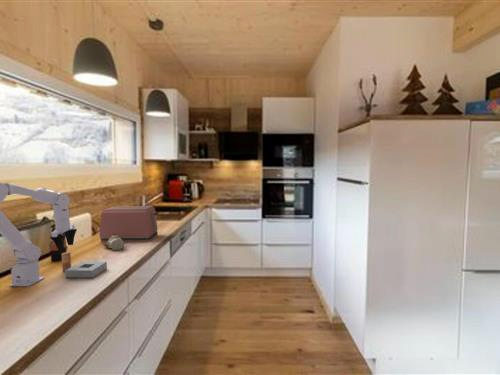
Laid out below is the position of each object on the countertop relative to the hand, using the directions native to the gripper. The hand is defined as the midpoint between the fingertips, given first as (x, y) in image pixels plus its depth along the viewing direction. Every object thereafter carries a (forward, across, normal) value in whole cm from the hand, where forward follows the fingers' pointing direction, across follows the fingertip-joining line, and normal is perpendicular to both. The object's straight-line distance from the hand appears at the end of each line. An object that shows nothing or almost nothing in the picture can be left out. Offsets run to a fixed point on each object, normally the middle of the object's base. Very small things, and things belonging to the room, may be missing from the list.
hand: (65, 247), depth 145 cm
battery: (+11, +16, +14) cm, 24 cm away
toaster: (+15, +58, -7) cm, 61 cm away
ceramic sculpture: (+13, +36, -6) cm, 39 cm away
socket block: (+11, -6, -12) cm, 17 cm away
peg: (+10, -1, 0) cm, 11 cm away
